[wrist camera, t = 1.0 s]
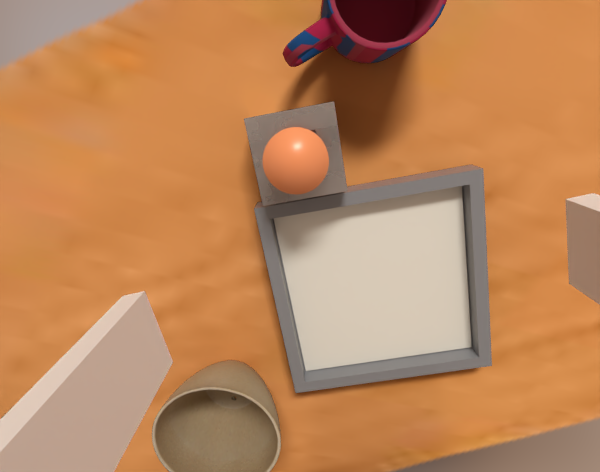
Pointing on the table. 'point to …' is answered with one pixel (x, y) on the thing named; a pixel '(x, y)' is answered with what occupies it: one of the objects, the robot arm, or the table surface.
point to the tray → (381, 279)
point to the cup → (364, 29)
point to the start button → (295, 160)
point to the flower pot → (219, 423)
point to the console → (309, 117)
